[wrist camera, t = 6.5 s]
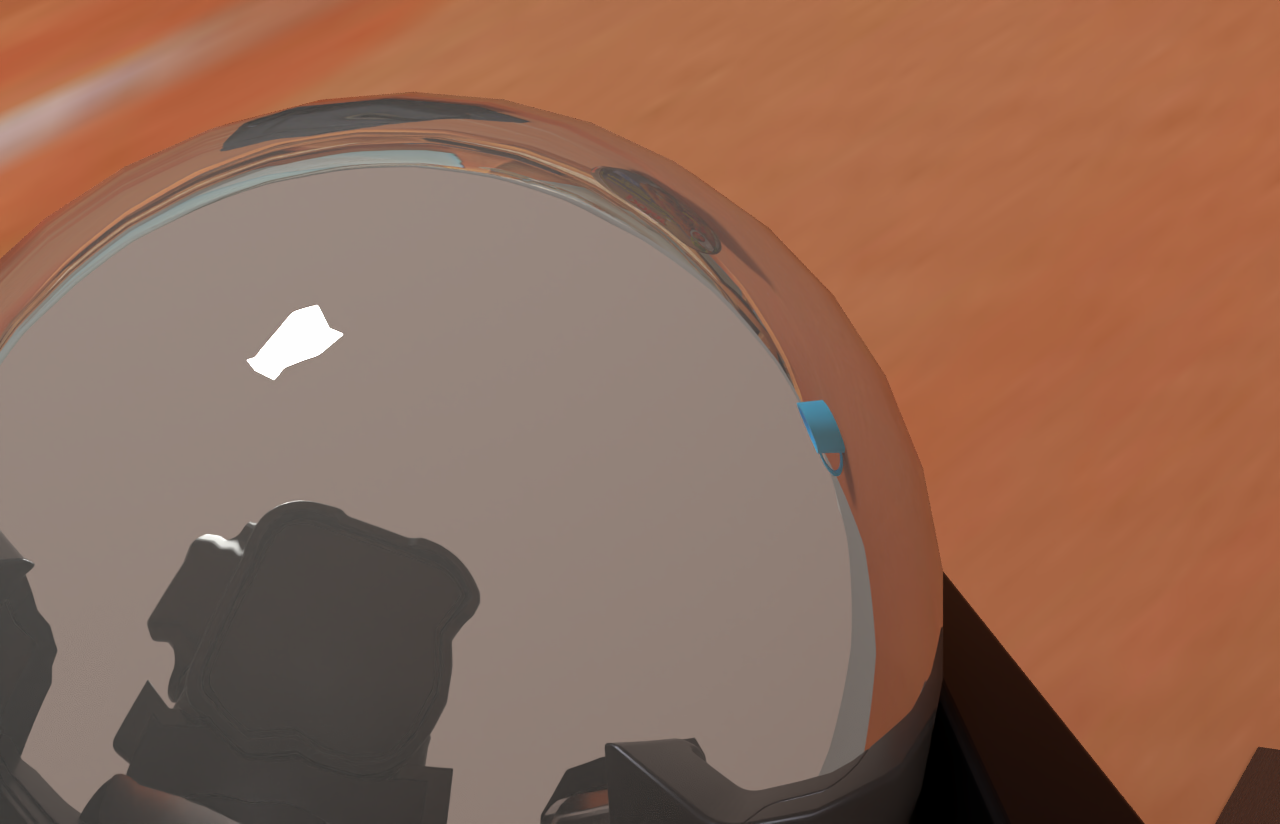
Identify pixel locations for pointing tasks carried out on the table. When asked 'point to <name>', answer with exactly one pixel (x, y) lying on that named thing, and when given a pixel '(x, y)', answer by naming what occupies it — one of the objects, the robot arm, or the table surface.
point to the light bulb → (448, 493)
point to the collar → (1256, 792)
